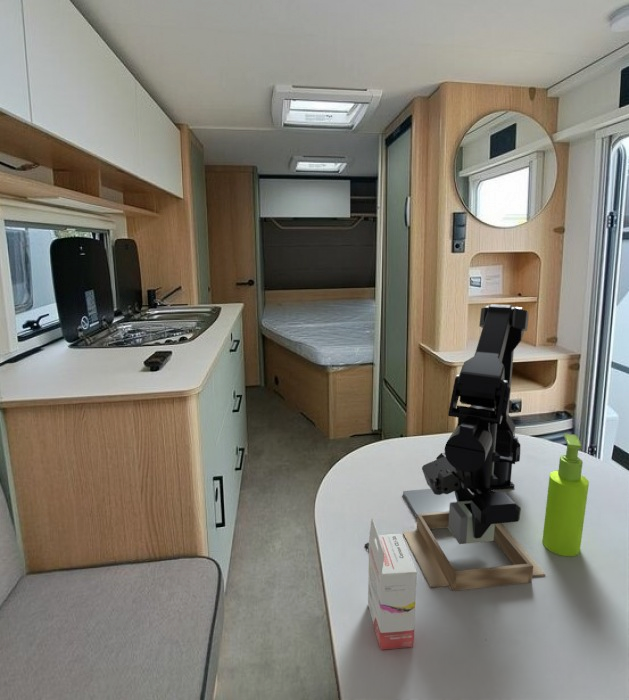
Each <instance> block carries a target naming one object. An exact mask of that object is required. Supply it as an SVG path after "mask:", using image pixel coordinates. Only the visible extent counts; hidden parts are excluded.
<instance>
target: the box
mask: <svg viewBox="0 0 629 700" xmlns="http://www.w3.org/2000/svg"><path fill="white" fill-rule="evenodd" d="M466 503H471V501H462V502H450V508H449V526H448V527H447V528H448V530H449V532H451V534H452V535H453V537H454V539H455V540H456V542H457V543H458V544H459V545H468V544H476V543H485V542H486V543H487V542H494V541H495V540H494V528H495V524H491V525H490V526H489V528H488V529H487V530H486V532H485V533H484V534H483V536H482V537H481V538H474V534H473V524H472V514H471V513H470V511H469V510H468V509H467V508H466V506H465V505H464V504H466Z"/></svg>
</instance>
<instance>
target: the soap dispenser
mask: <svg viewBox="0 0 629 700" xmlns="http://www.w3.org/2000/svg"><path fill="white" fill-rule="evenodd" d="M562 435H563V438H564V440H565V442H566V444H567V445H566V452H565V453H566V454H564V455H561V456H560V457H559V464H558V470H553V471H552V472H550V473H549V478H548V487H547V495H546V496H547V497H546V506H545V513H544V514H545V515H544V523H543V531H542V544H543V546H544V547H545V548H546V549H547V550H548V551H550V552H551V553H553V554H555V555H557V556H558V555H559V556H562V557H576V556H578V555H579V553H580V551H581V545H582V537H583V530H584V523H585V522H584V521H585V515H586V507H587V500H588V491H589V486H590V485H589V484H590V481H589V480H588V478H586V477H585V476H584V475H582V470H583V463H584V462H583V460H582V459H581V458H579V457H578V456H579V450H582V443H581V441H580V439H579V437H578V436H577V434H571V433H562Z"/></svg>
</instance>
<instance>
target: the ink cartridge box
mask: <svg viewBox="0 0 629 700" xmlns="http://www.w3.org/2000/svg"><path fill="white" fill-rule="evenodd" d="M368 538H369V539H368V543H369V553H368V581H367V582H368V583H367V585H368V587H367V605H368V608H369V613H370V617H371V619H372V621H371V622H372V624H373V627H374V631H375V634H376V638H377V642H378V646H379V650H380V651H381V650H390V649H391V650H392V649H401V648H402V649H405V648H406V649H407V648H414V647H415V646H414V644H415V619H416V594H417V578H418V577H417V576H418V575H417V574H418V571H417V569H416V566H415V564H414V561H413V559H412V557H411V554H410V551H409V549H408V546H407V545H406V543H405V539H404V538H403V535H402V533H390V534H389V533H387V534H379V532H378V529H377V527H376V523H375V521H374V519H373V518H371V521H370V529H369V537H368Z"/></svg>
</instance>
